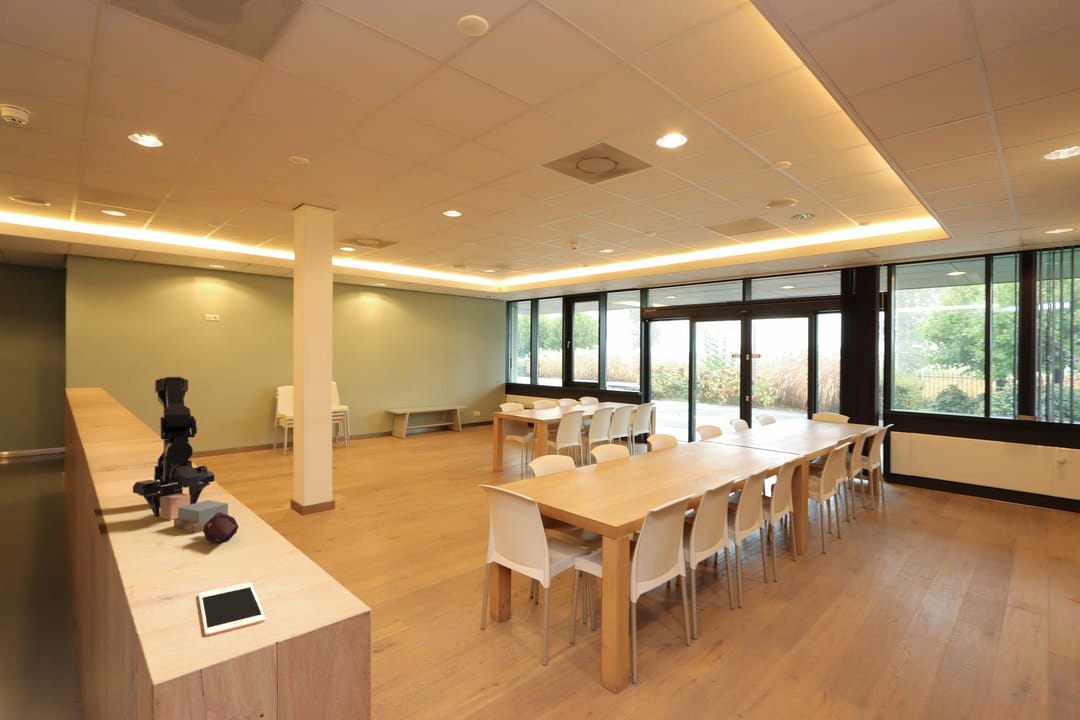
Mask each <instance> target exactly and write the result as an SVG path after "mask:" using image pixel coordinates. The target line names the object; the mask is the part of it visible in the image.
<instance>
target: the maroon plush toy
mask: <svg viewBox="0 0 1080 720" xmlns="http://www.w3.org/2000/svg"><path fill="white" fill-rule="evenodd" d="M238 529H239V525H238V523H237V519H235V517H233V516H231V515H229V514H228V515H227V514H223V513H221V512H218V513H216V514H215V515H214V517H212V518H211V519H210V520H209V521H208V522H207V523H206V524H205V525H204V529H203V534H204V538H205V540H206V541H207V542H208V541H209V542H210V543H214V544H217V545H218V544H222V543H226V542H228V541H230V540H231V539H232V538H233V537H234V536H235V534H237V533H238Z"/></svg>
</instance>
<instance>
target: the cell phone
mask: <svg viewBox="0 0 1080 720" xmlns="http://www.w3.org/2000/svg"><path fill="white" fill-rule="evenodd" d="M197 596H198V602H199V603H198V604H199V609H200V613H201V620H202V626H203V633H204V636H205V637H206V636H207V637H213V636H215V635H216V636H217V635H219V634H220V635H221V634H224V633H228V632H231V631H235V630H239V629H243V628H246V627H248V628H249V627H251V626H255V625H259V624H262V623H261V622H263V623H265V622H266V621H267V620H266V619H267V618H266V616H265V612H264V610H263V607H262V606H261V603H260V600H259V598H258V595H257V593H256V590H255V588H254V585H253V583H252V582H243V583H240V584H234V585H231V586H224V587H219V588H215V589H211V590H206V591H202V592H199V593H198V595H197ZM265 620H266V621H265ZM264 621H265V622H264Z"/></svg>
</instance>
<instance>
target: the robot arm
mask: <svg viewBox="0 0 1080 720" xmlns="http://www.w3.org/2000/svg"><path fill="white" fill-rule="evenodd" d="M188 391H189V379H186V378H184V377H181V376H166V377H163V378H162V377H160V378H159V379H156V380H155V381H154V394H157V395H156V396H157V397H156V398H157V401H158V402H159V403H160V404H161V407H163V410H162V412H163V416H162V417H160V419H159V420H160V421H159V429H160V430H159V431H160V439H161V440H163V452H162V453H161V455H160V456H159V457H158V459H157V464H156V465H155V466H154V471H153V472H154V473H153V479H147V480H141V481H136V482H135V483H134V484H133V486H132V493H133V494H137V495H138V496H142V497H143V498H144V499H145V500H146V502H147V504H148V505H149V507H150V509H151V511H152V513H153V515H154V516H155V518H160V505H161V497H163V496H168V495H172V494H177V493H182V494H184V493H183V489H185V488H188V495H190V505H191V504H195V503H198V501H199V497H200V495H201V493H202V491H203V490H204V489H205V488H206V487H207V486H210V485H211V483H212V482H215V481H216V475H215V473H214V472H213V471H209V470H208V467H207V466H206V465H202V466H201V465H200V466H197V467H193V461H192V460H191V457H192V455H193V452H194V451H193V447H192V445H191V444H190V439H189V438H196V434H198V433H197V432H198V430H197V429H198V428H197V419H196V418H195V416H194V415H192V412H191V409H190V408H189V407H187V406H186V405H185V396H186V393H188Z"/></svg>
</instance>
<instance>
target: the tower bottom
mask: <svg viewBox="0 0 1080 720" xmlns="http://www.w3.org/2000/svg"><path fill="white" fill-rule="evenodd" d="M208 521H209V520H207V521H204V522H200V523H196V522H191V521H186V520H181V519H178V518H176V519H174V520H173V529H175V528H176V529H175V530H179V529H180V530H179V531H182V530H183V532H187V533H190V534H193V535H195V534H198V533H202V532H203V529H204V525H205V524H206V523H207V522H208ZM203 533H204V532H203Z"/></svg>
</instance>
